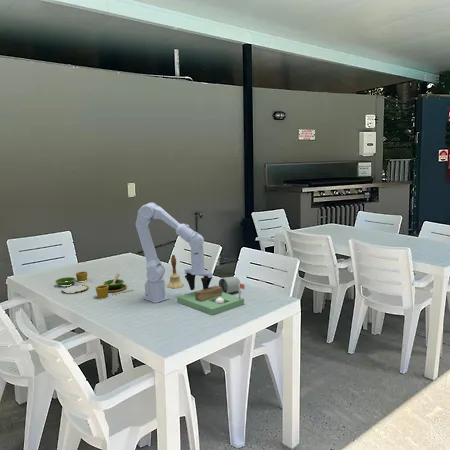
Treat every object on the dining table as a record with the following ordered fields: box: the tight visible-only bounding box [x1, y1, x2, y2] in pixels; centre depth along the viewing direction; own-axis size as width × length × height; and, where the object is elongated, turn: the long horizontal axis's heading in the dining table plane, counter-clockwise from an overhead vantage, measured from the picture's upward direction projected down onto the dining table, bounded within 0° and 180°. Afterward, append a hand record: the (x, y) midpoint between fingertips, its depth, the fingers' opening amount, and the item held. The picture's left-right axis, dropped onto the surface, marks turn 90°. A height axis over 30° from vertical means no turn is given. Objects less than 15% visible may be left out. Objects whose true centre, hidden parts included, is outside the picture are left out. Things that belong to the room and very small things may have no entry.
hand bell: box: [166, 254, 184, 289], centre depth 220 cm, size 8×8×16 cm
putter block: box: [194, 285, 222, 301], centre depth 194 cm, size 4×12×4 cm, turn 132°
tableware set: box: [55, 271, 134, 299], centre depth 222 cm, size 41×28×6 cm
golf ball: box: [215, 297, 224, 304], centre depth 189 cm, size 4×4×4 cm
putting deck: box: [176, 282, 246, 316], centre depth 192 cm, size 26×18×10 cm
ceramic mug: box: [218, 276, 241, 294], centre depth 209 cm, size 11×8×8 cm
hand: (199, 290), depth 199 cm, fingers open, 7 cm apart
